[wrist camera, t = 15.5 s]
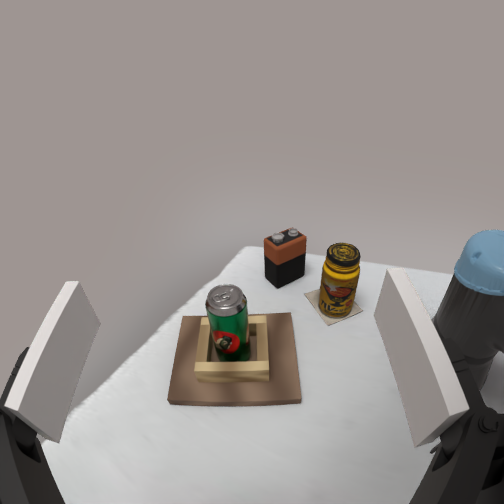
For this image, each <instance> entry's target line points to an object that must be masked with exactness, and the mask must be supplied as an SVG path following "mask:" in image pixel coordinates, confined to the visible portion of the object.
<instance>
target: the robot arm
mask: <svg viewBox="0 0 504 504" xmlns="http://www.w3.org/2000/svg"><path fill="white" fill-rule="evenodd" d="M454 270H455V271H454V275H453V277H452V280H451V282H450V284H449V287H448V289H447V291H446V294H445V296H444V298H443V300H442V302H441V304H440V307H439V309H438V311H437V313H436V315H435V317H434V318H432V319H430V317H429V315H428V313H427V311H426V309H425V307H424V305H423V303H422V301H421V299H420V297H419V295H418V294H417V292H416V290H415V288H414V286H413V284H412V282H411V281H410V279H409V277H408V275H407V274H406V272H405V270H404V268H390V269H387V271H386V275H385V278H384V282H383V285H382V289H381V293H380V296H379V299H378V303H377V306H376V309H375V312H374V317H375V320H376V323H377V326H378V328H379V331H380V334H381V337H382V340H383V343H384V345H385V348H386V351H387V354H388V357H389V360H390V363H391V366H392V370H393V373H394V376H395V379H396V382H397V385H398V389H399V392H400V395H401V399H402V402H403V406H404V409H405V413H406V416H407V420H408V424H409V428H410V431H411V435H412V439H413V443H414V447H418V446H421V445H424V444H427V443H431V442H433V441H434V440H435V439H436V438H438V437H439V436H440V439H441V442H440V443H439V444H438V445H436V446H435V447H434V448H433V449H432V450H431V452H430V453H431V454H432V453H434V452H435V451H436V453H435V455H434V457H433V459H432V461H431V463H430V465H429V468H428V470H427V472H426V474H425V476H424V478H423V479H422V481H421V483H420V485H419V487H418V489H417V491H416V493H415V494H414V496H413V498H412V500H411V501H410V503H409V504H504V414H498V413H497V412H496V411H495V410H493V409H492V408H489V407H487V406H486V405H485V403H484V401H483V399H482V397H481V394H480V392H479V390H480V389H481V388H482V386H483V385H484V383H485V381H486V378H487V374H488V372H489V369H490V366H491V364H492V361H493V358H494V356H495V355H496V353H497V352H498V351H501V352H502V353H504V231H502V230H486V231H481V232H478V233H477V234H475V235H473V236H472V237H471V238H470V239H469V240H468V241H467V243H466V245H465V247H464V250H463V252H462V254H461V257H460V259H459V260H458V261H457V263H456V265H455V268H454ZM99 326H100V321H99V319H98V318H97V316H96V314H95V312H94V310H93V308H92V306H91V304H90V302H89V300H88V298H87V296H86V295H85V292H84V290H83V288H82V286H81V284H80V282H79V281H67V282H66V283H65V285H64V286H63V288H62V290H61V291H60V293H59V295H58V297H57V298H56V300H55V302H54V303H53V305H52V307H51V309H50V310H49V312H48V314H47V316H46V318H45V319H44V321H43V323H42V325H41V327H40V329H39V331H38V332H37V334H36V336H35V339H34V340H33V342H32V344H31V346H30V347H27V348H26V349H25V350H24V351H23V352H22V354H21V355H20V356H19V358H18V360H17V362H16V364H15V368H14V369H13V371H12V373H11V374H12V375H11V376H10V378H9V380H8V382H7V384H6V387H5V389H4V391H3V394H2V396H1V399H0V504H65V502H64V500H63V498H62V496H61V494H60V492H59V489H58V487H57V485H56V483H55V480H54V478H53V476H52V473H51V471H50V468H49V466H48V463H47V460H46V458H45V455H44V452H43V450H42V447H41V444H40V441H39V440H38V438H36V435H37V433H38V434H40V435H41V436H42V437H44V438H45V439H48V440H51V441H54V442H57V443H59V442H60V438H61V435H62V431H63V428H64V424H65V421H66V418H67V414H68V411H69V408H70V405H71V402H72V398H73V395H74V393H75V390H76V387H77V384H78V381H79V378H80V375H81V372H82V370H83V367H84V364H85V362H86V359H87V356H88V353H89V351H90V348H91V346H92V343H93V341H94V338H95V336H96V333H97V331H98V328H99Z"/></svg>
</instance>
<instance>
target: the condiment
mask: <svg viewBox="0 0 504 504" xmlns="http://www.w3.org/2000/svg"><path fill="white" fill-rule="evenodd" d="M359 260H360V252H359V250H358V249H357V248H356V247H355V246H353V245H351V244H347V243H336V244H333V245H331V246H330V247H329V248H328V249H327V256H326V260H325V262H324V265H323V268H322V270H323V271H322V278H321V286H320V289H319V290H315V291H312V292H309V293H306V294H305V296H306V297H307V298H308V300H309V301H310V302H311V303H312V305H313V306H314V308H315V309H316V310H317V312H318V313H319V314H320V316H321V317H322V319H323V320H324V321H325V323H326V324H327V325H331V324H333V323H336V322H338V321H341V320H343V319H346V318H348V317H350V316H353V315H355V314H357V313H359V312H361V311H363V310H362V309H361V308H360V307H359V306H358V305H357V304H356V303H355V302H354V298H355V293H356V288H357V283H358V279H359V275H360V266H359V263H360V261H359Z"/></svg>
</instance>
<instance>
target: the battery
mask: <svg viewBox="0 0 504 504" xmlns="http://www.w3.org/2000/svg"><path fill="white" fill-rule="evenodd" d="M305 256H306V236H304V235H303V234H301V233H300V232H299V231H297V229H295V228H290V229H287V230H285V231H282V232H279V233H274V234H273V235H272V236H269V237H267V238H265V239H264V260H265V277H266V278H267V279H268V280H269V281H270V282H271V283H272V284H273V285H274V286H275V287H277V288H279V287H281V286H283V285H285V284H287V283H289V282H291V281H293V280H295V279H297V278H299V277H301V276H303V275H304V271H305Z"/></svg>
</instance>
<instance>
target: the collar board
mask: <svg viewBox="0 0 504 504" xmlns="http://www.w3.org/2000/svg"><path fill="white" fill-rule="evenodd" d="M248 321H249V332H250V343H251V355H250V357H249V359H248V360H247V361H246V362H221V361H220V360H219V359H218V357H217V354H216V350H215V346H214V341H213V337H212V333H211V328H210V324H209V320H208V316H183V318H182V323H181V328H180V333H179V338H178V343H177V348H176V353H175V359H174V364H173V370H172V375H171V381H170V387H169V393H168V399H167V400H168V402H169V403H170V404H174V405H192V406H266V405H284V404H298V403H301V391H300V382H299V374H298V366H297V357H296V349H295V341H294V333H293V326H292V318H291V313H272V314H250V315H248Z"/></svg>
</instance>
